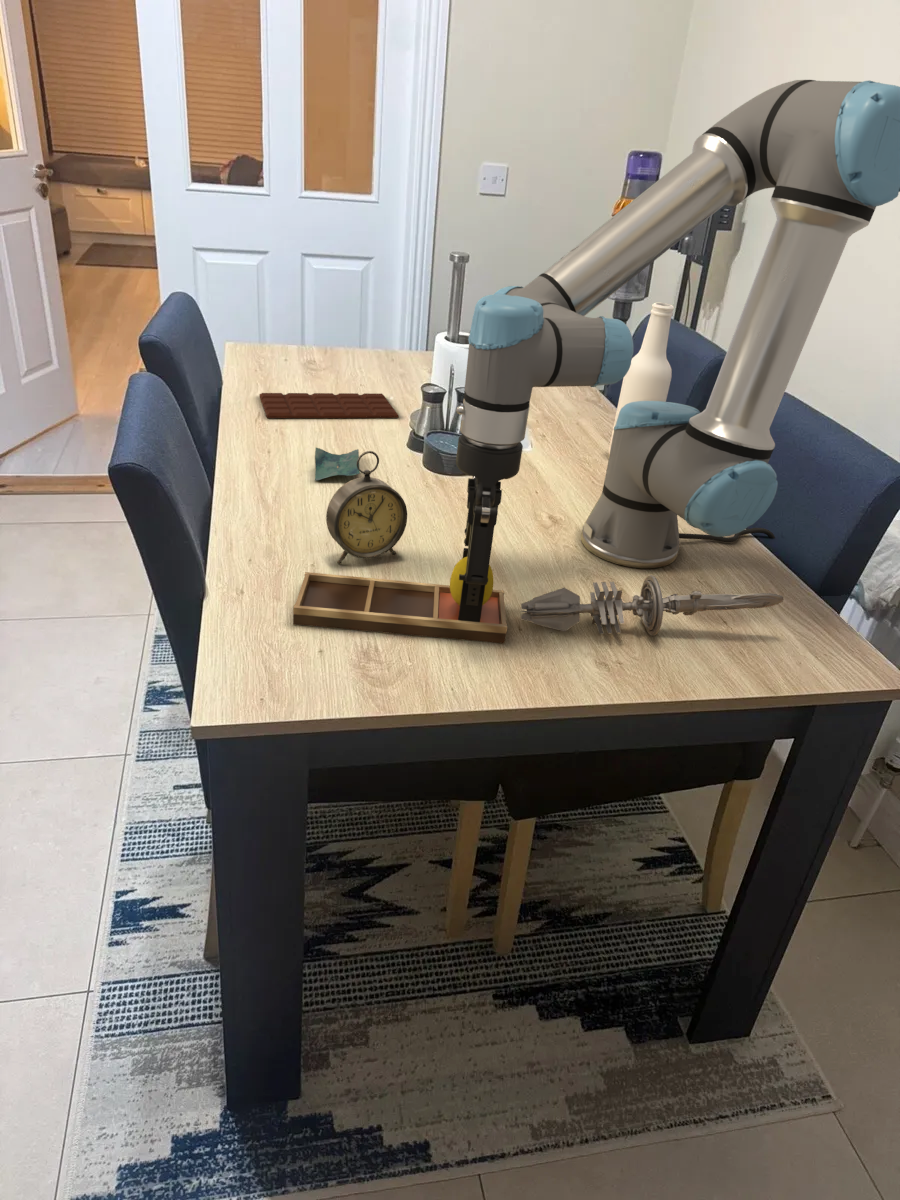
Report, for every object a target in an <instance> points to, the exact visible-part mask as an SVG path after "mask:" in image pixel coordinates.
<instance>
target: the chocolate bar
mask: <svg viewBox="0 0 900 1200" xmlns="http://www.w3.org/2000/svg"><path fill="white" fill-rule="evenodd" d="M259 399H260V402H261V406H262V408H263V410H264V411H263V412H264V414H265V416H266V418H267V419H386V418H387V419H398V418H399V414H398V412H397V411H396V410H395V408H394V407H393V406H392V404H391V403H390V401H388V399H387V398H386V396H385V395H384V393H367V392H366V393H362V394H359V393H356V392H355V393H350V392H349V393H348V392H347V393H346V392H344V393H343V392H341V393H337V394H334V393H332V392H314V393H312V394H309V393H308V392H287V393H286V394H284V393H282V392H261V393H259Z"/></svg>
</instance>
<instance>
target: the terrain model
mask: <svg viewBox="0 0 900 1200" xmlns="http://www.w3.org/2000/svg"><path fill="white" fill-rule="evenodd" d="M359 456H360V451H359V449H358V448H357V449H353V450H352V451H350V452H346V453H342V454H336V453H331V452H328V451H326V450H324V449H323V448H319V447H315V452H314V460H315V461H314V462H315V464H314V465H315V471H314V481H320V480H323V479H327V478H330V477H334V476H335V477H336V476H347V477H349V476H356V475H359V474H361V472H360V471H359V470H358V468H357V459H358V458H359Z"/></svg>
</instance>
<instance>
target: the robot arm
mask: <svg viewBox="0 0 900 1200" xmlns="http://www.w3.org/2000/svg"><path fill="white" fill-rule="evenodd" d="M766 189H767V190H768V189H773V192H772V195H771V197H770V203H771V206H772V208H773V211H774V212H775V217H776V220H775V223H774V226H773V229H772V231H771V234H770V237H769V239H768V242H767V244H766V247H765V250H764V252H763V255H762V258H761V261H760V263H759V266H758V269H757V270H756V271H757V272H756V274H755V276H754V279H753V282H752V284H751V288H750V290H749V293H748V295H747V297H746V301H745V303H744V305H743V308H742V310H741V314H740V316H739V318H738V322H737V324H736V327H735V330H734V332H733V335H732V338H731V340H730V343H729V345H728V348H727V351H726V354H725V356H724V359H723V361H722V364H721V367H720V369H719V372H718V375H717V378H716V381H715V384H714V386H713V388H712V391H711V393H710V396H709V399H708V402H707V404H706V406H705V408H704V409H703V411H701V412H700V410H699V409H698V408H696V407H694V406H691V405H687V404H684V403H677V402H671V401H666V402H663V401H636V402H631V403H628V404H626V405H625V406H624V407H622V408H621V410H620V412H619V415H618V419H617V422H616V426H615V427H614V434H613V439H612V444H611V450H610V455H609V454H608V455H609V456H608V461H607V465H606V471H605V476H604V482H603V487H602V490H601V494H600V496H599V498H598V499H597V502H596V503H595V505H594V506H593V507H592V510H591V511H590V513H589V515H588V516H587V519H586V520H585V521H584V524H583V527H582V531H581V535H580V537H581V538H580V539H581V540H580V541H581V542H582V545H583V546H584V547H585V548H586V549H587V550H588V551H589V552H590V553H592V554H593V555H595V556H596V557H598V558H600V559H602V560H605V561H607V562H609V563H613V564H616V565H618V566H619V565H620V566H623V567H628V568H636V569H657V568H662V567H666V566H668V565H670V564H672V563H673V562H675V560H676V559H677V557H678V554H679V551H680V540H681V539H683V540H685V539H686V540H705V541H715V542H720V543H728V544H730V543H734V542H737V541H738V540H739V538H740V537H741V536H745V535H751V534H764V535H766V536H767V537H768V538H769V539H776V536H775V534H774V533H773V532H772V531H770V530H769V529H767V528H765V527H750V526H753V525H754V524H755V523H756V522H758V521H759V520H760V518H762V517H763V515H764V514H765V513H766V512H767V511H768V509H769V507H771V505H772V503H773V501H774V499H775V497H776V494H777V491H778V484H779V482H778V480H777V477H778V476H777V473H776V471H775V469H773V467H772V465H771V464H770V463H769V461H770V460H771V457H772V454H773V451H774V449H775V448H776V443H775V440H774V438H773V437H772V434H771V431H770V428H771V426H772V424H773V422H774V418H775V416H776V414H777V411H778V409H779V406H780V404H781V401H782V399H783V397H784V395H785V393H786V390H787V387H788V385H789V383H790V381H791V378H792V375H793V373H794V371H795V369H796V366H797V363H798V361H799V358H800V356H801V354H802V352H803V349H804V346H805V344H806V343H807V342H806V341H807V339H808V337H809V334H810V332H811V329H812V327H813V326H814V322H815V320H816V317H817V315H818V313H819V310H820V308H821V306H822V303H823V300H824V298H825V295H826V293H827V291H828V289H829V287H830V284H831V281H832V279H833V277H834V274H835V272H836V269H837V267H838V264H839V262H840V260H841V257H842V256H843V253H844V250H845V247H846V245H847V243H848V241H849V239H850V237H851V236H852V235H854V234H855V233H857V232H859V231H860V230H863V229H864V228H866V227H868V226H869V225H870V222H871V220H872V218H873V215H874V213H875V211H876V209H877V207H879V206H883V205H885V204H888V203H890V202H893V201H894V200H895V199H896V198H897V197H899V193H900V86H899V85H895V84H888V83H883V82H880V81H879V82H876V81H873V80H864V81H850V80H849V81H846V80H845V81H843V80H842V81H841V80H837V81H836V80H815V79H795V80H791V81H788V82H783V83H781V84H778V85H776V86H773V87H771V88H769V89H767V90H765V91H763V92H761V93H759V94H757V95H755V96H754V97H752V98H751V99H749V100H748V101H745V102H744V103H743V104H741V105H739V106H738V107H736V108H735V109H734V110H732V111H730V112H729V113H728V114H726V115H725V116H723V117H722V118H721V119H720V120H719V121H717V122H716V123H715V124H713V125H712V126H711V127H710V128H708V129H707V130H706V131H705V132H703V133H701V135H699V136H698V137H697V138H696V139H695V141H694V142H693V145H692V149H691V153H690V154H689V155H688V156H686V158H684V159H683V160H682V161H680V162H679V163H678V164H676V165H675V166H674V167H673V168H672V169H671V170H669V171H668V172H667V173H665V174H664V175H663V176H661V178H659V179H657V181H655V182H654V183H653V184H652V185H650V186H649V187H648V188H647V189H646V190H644V191H643V192H642V193H640V194H639V195H638V196H637V197H636V198H634V199H633V200H632V201H630V202H629V203H628V204H627V205H625V206H624V207H623V208H621V209H620V210H619V211H618V212H617V213H615V214H614V215H613V216H612V217H610V218H609V219H608V220H607V221H605V222H604V223H603V224H602V225H601V226H599V227H598V228H597V229H595V230H594V231H593V232H592V233H590V234H589V235H588V236H587V237H586V238H584V239H583V240H582V241H580V242H578V244H577V245H575V246H574V247H573V248H572V249H570V250H569V251H568V252H567V253H566V254H564V255H563V256H562V257H560V258H559V259H558V260H557V261H556V262H554V263H553V264H552V265H550V266H549V267H548V268H546V270H544V271H543V272H542V273H540V274H539V275H538V276H537V277H535V278H534V279H533V280H531V281H530V282H529V283H528V284H526V285H525V286H519V285H508V286H505V287H502V288H500V289H497V290H496V292H494V293H493V294H488V295H485V296H483V297H481V298H480V299H478V301H477V302H476V303H475V306H474V310H473V315H472V318H471V325H470V331H469V334H468V337H467V339H468V351H467V352H468V353H467V360H466V361H467V362H466V371H465V379H464V380H465V381H464V391H463V400H462V403H463V405H458V406H457V407H456V409H455V410H456V411H455V412H456V413H457V414H458V415H461V418H460V419H461V420H460V428H459V431H460V434H461V435H460V436H459V437H458V440H457V448H456V456H455V457H456V458H455V465H456V467H457V468H458V470H460V472H462V473H464V474H465V475H467V476H469V477H470V476H472V477H471V478H468V479H467V487H466V488H467V489H466V490H467V491H466V493H467V497H466V498H467V500H466V508H467V517H466V524H465V529H464V536H465V538H464V540H463V544H464V547H463V551H462V558H461V559H463V558H464V557H467V566H466V573H465V574H464V575H463V574H459V580H463V585H462V593H461V601H460V609H459V617H458V620H461V621H472V622H480V618H481V611H482V604H483V597H484V590H485V585H486V584H487V582H488V570H489V565H490V563H491V555H492V547H493V539H494V533H495V526H496V524H497V519H498V514H499V505H500V504H501V502H502V497H503V496H502V494H503V490H502V489H501V487H502V480H509V479H512V478H514V477H516V476H517V475H518V473H519V472H520V469H521V467H520V466H521V462H522V455H523V448H524V446H523V445H524V444H522V441H524V440H525V438H526V431H527V425H528V419H529V412H530V402H531V397H532V392H533V388H556V387H557V388H558V387H559V388H561V387H564V388H565V387H590V388H596V387H598V386H608V385H614V384H617V383H619V382H620V381H621V380H623V378H624V376H625V375H626V374H627V372H628V370H629V368H630V365H631V360H632V358H633V356H634V339H633V335H632V333H631V330H630V328H629V326H628V325H627V324H626V323H625V322H624V321H622V320H620V319H619V318H609V317H605V316H603V315H599V316H597V317H589V316H587V315H588V314H589V313H591V312H592V311H593V310H595V309H596V308H597V307H598V306H599V305H601V304H602V303H603V302H605V300H607V299H608V298H610V297H611V296H612V295H614V294H615V293H616V292H617V291H618V290H619V289H621V288H622V287H623V286H625V285H626V284H627V283H628V282H630V281H631V280H632V279H633V278H635V277H636V276H637V275H639V274H640V273H641V272H643V270H645V269H646V268H648V267H649V266H650V265H651V264H652V263H654V262H655V261H656V260H657V259H659V258H660V257H661V256H662V255H663V254H666V252H668V250H670V249H671V248H673V247H674V246H675V245H676V244H678V243H679V242H680V241H681V240H683V239H684V238H685V237H686V236H688V235H689V234H690V233H691V232H693V231H694V230H696V229H697V227H699V226H700V225H701V224H703V223H704V222H705V221H706V220H707V219H709V218H710V217H711V216H713V215H714V214H716V212H718V211H719V210H720V209H722V208H723V207H725V206H729V207H733V206H737V205H739V204H740V203H742V202H744V201H745V200H746V199H747V198H748V197H750V196H751V195H753V194H755V193H757V192H759V191H762V190H766ZM678 517H680V518H681V519H683V520H684V521H685V522H686V523H687V525H689V526H691V527H692V528H694V529H698V530H700V531H702V532H703V533H705V534H703V533H684V532H683V533H682V532H679V522H678V521H679V520H678ZM749 527H750V528H749Z"/></svg>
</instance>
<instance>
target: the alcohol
mask: <svg viewBox="0 0 900 1200" xmlns="http://www.w3.org/2000/svg"><path fill="white" fill-rule="evenodd" d="M651 307H652V308H651V309H650V316H649V319H648V322H647V327H646V330H645V332H644V336H643V340H642V343H641V346H640V349H639V350H638V353H636V354H635V355H633V356H632V360H631V365H630V368H629V370H628V372H627V374H626V375H625V376H624V377H623V378H622V383H621V388H620V392H619V398H618V402H617V407H616V411H615V417H614V422H613V427H612V432H611V437H610V441H609V446H608V455H610V450H611V444H612V439H613V434H614V427H615V426H616V422H617V419H618V415H619V412H620V410H621V408H622V407H624V406H625V405H626V404H628V403H631V402H636V401H663V402H667V398H668V394H669V390H670V385H671V381H672V375H673V373H672V371H673V369H672V366H671V364H670V362H669V360H668V358H667V348H668V342H669V334H670V327H671V320H672V317H673V316H674V313H673V311H674V309H675V306H673V305H672V304H670V303H666V302H658V301H656V302H654V303H652V304H651Z"/></svg>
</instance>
